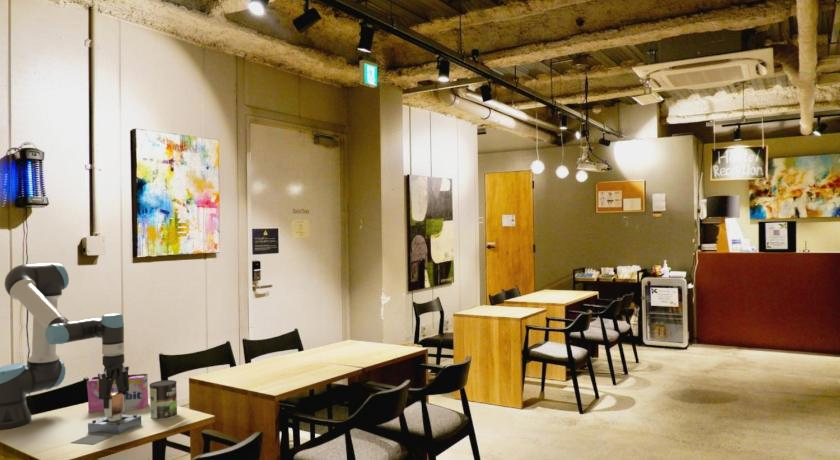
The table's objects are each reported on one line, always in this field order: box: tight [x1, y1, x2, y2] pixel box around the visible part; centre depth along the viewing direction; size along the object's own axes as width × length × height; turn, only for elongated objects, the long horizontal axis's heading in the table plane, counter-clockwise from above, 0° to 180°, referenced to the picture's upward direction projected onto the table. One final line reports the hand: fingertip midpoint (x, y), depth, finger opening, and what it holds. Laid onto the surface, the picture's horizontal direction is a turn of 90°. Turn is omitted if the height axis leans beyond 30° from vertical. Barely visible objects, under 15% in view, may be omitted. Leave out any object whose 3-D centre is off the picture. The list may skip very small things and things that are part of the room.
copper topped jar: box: [106, 392, 124, 423], centre depth 236 cm, size 6×6×13 cm
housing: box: [87, 414, 142, 436], centre depth 236 cm, size 14×12×5 cm
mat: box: [70, 433, 115, 446], centre depth 224 cm, size 10×10×1 cm
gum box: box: [86, 373, 149, 413], centre depth 266 cm, size 24×8×14 cm, turn 99°
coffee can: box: [149, 379, 178, 421], centre depth 251 cm, size 10×10×14 cm
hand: (114, 413), depth 236 cm, fingers closed on copper topped jar, 6 cm apart
